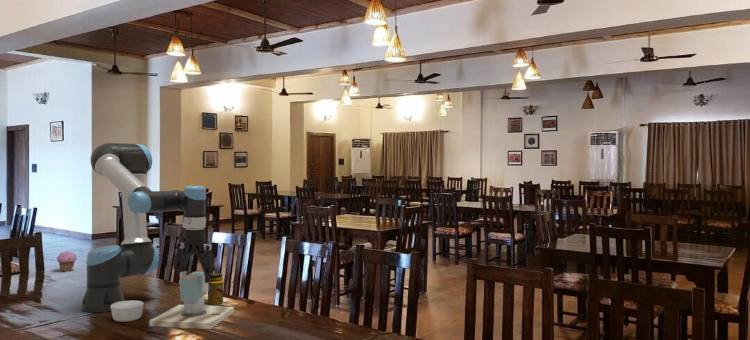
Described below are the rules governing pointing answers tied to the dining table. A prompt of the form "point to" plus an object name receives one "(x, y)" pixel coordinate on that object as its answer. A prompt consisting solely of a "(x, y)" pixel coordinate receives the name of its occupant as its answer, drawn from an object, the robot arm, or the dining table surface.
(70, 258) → the cupcake
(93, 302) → the robot arm
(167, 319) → the post base
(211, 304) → the condiment
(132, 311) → the ramekin
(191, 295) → the teal block on base
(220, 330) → the dining table surface
